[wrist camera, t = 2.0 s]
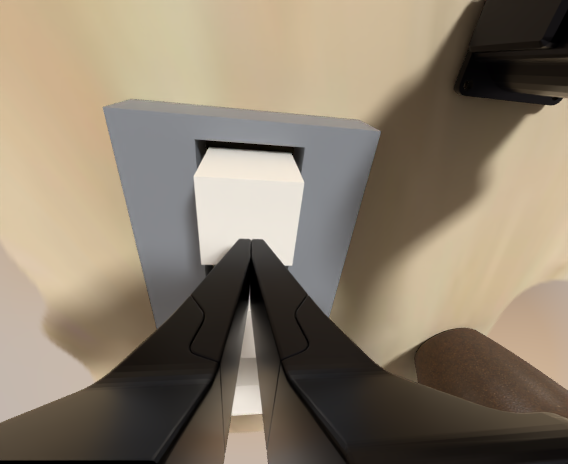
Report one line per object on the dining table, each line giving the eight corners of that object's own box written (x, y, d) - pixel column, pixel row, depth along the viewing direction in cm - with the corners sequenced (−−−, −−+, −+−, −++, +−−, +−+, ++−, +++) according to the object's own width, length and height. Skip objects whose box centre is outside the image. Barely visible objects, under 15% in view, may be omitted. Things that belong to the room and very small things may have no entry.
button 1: (271, 331, 21) (274, 383, 17) (267, 361, 23) (270, 412, 19) (218, 333, 20) (212, 387, 17) (220, 363, 22) (214, 416, 19)
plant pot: (416, 296, 23) (637, 606, 10) (550, 303, 26) (866, 556, 13) (362, 385, 31) (446, 628, 18) (469, 384, 34) (613, 594, 20)
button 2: (290, 152, 13) (304, 182, 10) (283, 221, 15) (292, 265, 12) (209, 146, 13) (193, 176, 9) (212, 219, 15) (201, 264, 11)
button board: (359, 119, 15) (381, 131, 12) (306, 347, 26) (311, 377, 23) (131, 98, 13) (102, 107, 11) (179, 351, 24) (170, 385, 22)
